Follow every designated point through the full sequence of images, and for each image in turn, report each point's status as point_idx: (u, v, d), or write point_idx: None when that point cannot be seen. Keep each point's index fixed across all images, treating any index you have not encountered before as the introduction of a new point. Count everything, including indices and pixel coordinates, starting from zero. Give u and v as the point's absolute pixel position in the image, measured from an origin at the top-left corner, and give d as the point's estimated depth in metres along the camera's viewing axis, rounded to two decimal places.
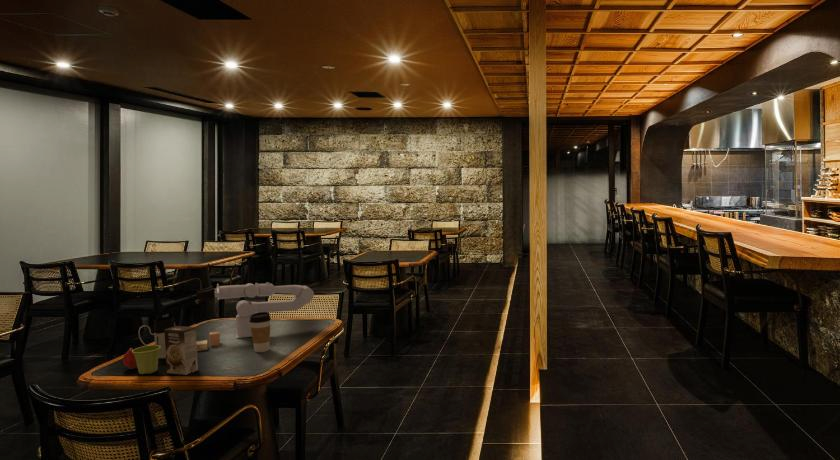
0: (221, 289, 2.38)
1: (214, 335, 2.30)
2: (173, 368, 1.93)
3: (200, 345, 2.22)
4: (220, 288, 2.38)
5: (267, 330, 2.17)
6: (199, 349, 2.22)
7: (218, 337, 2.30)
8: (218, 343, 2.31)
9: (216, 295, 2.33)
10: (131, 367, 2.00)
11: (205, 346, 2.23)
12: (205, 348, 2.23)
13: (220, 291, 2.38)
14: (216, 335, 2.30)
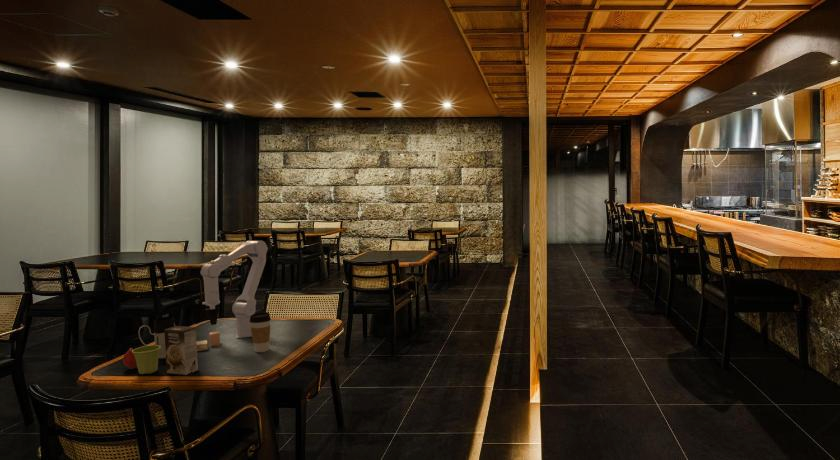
0: (208, 300, 2.28)
1: (214, 335, 2.30)
2: (173, 368, 1.93)
3: (200, 345, 2.22)
4: (207, 301, 2.28)
5: (267, 330, 2.17)
6: (199, 349, 2.22)
7: (218, 337, 2.30)
8: (218, 343, 2.31)
9: (212, 307, 2.24)
10: (131, 367, 2.00)
11: (205, 346, 2.23)
12: (205, 348, 2.23)
13: (210, 301, 2.28)
14: (216, 335, 2.30)
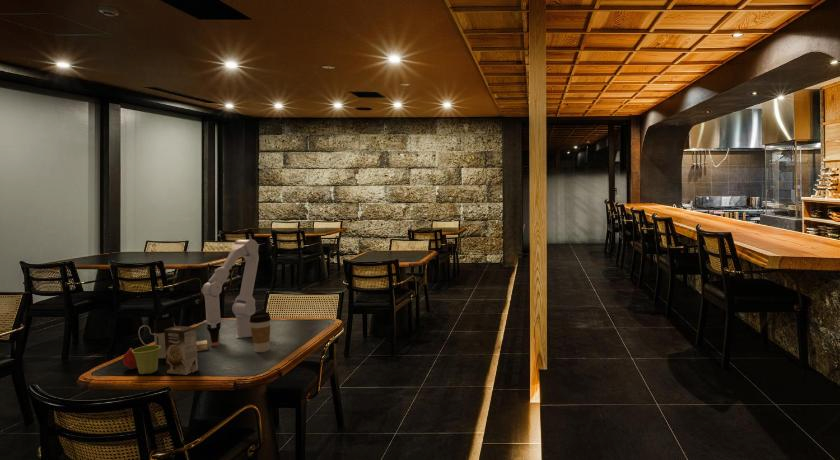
0: (209, 319, 2.29)
1: None
2: (173, 368, 1.93)
3: (200, 345, 2.22)
4: (208, 320, 2.29)
5: (267, 330, 2.17)
6: (200, 349, 2.22)
7: (218, 337, 2.30)
8: (218, 343, 2.31)
9: (214, 326, 2.25)
10: (131, 367, 2.00)
11: (205, 346, 2.23)
12: (205, 348, 2.23)
13: (211, 320, 2.28)
14: None
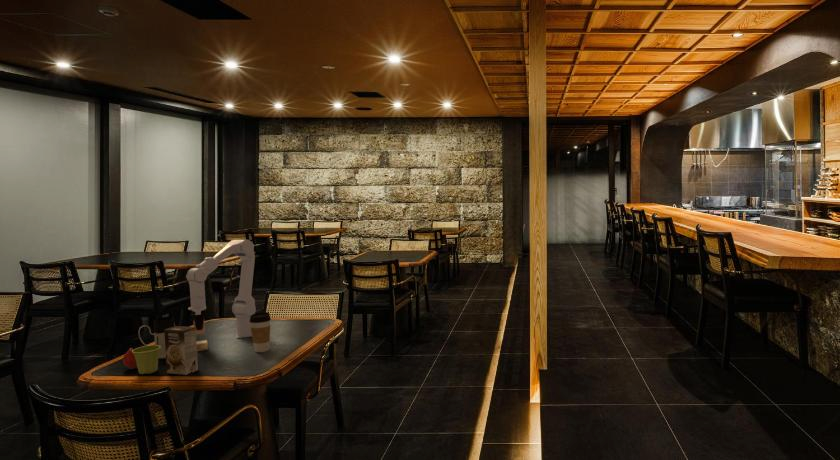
0: (193, 305, 2.22)
1: None
2: (173, 368, 1.93)
3: (201, 345, 2.22)
4: (192, 306, 2.22)
5: (267, 330, 2.17)
6: (200, 349, 2.22)
7: (203, 325, 2.24)
8: (203, 331, 2.24)
9: (198, 313, 2.18)
10: (131, 367, 2.00)
11: (206, 346, 2.23)
12: (206, 348, 2.23)
13: (196, 307, 2.22)
14: None
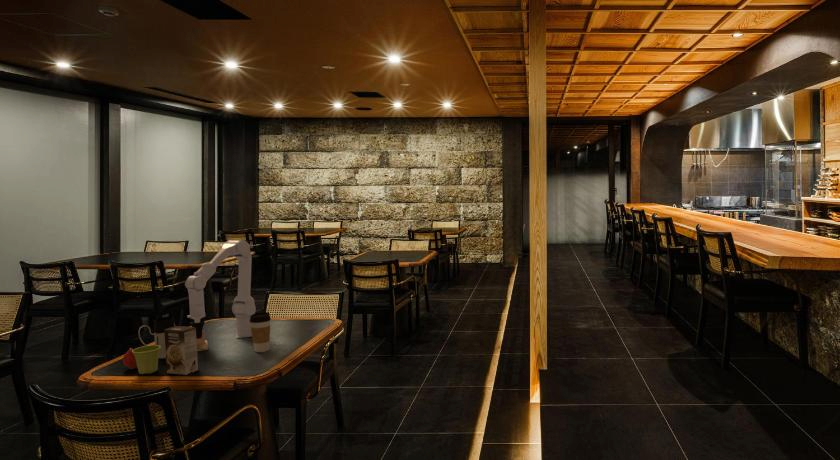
0: (192, 313, 2.21)
1: None
2: (173, 368, 1.93)
3: (201, 345, 2.23)
4: (191, 314, 2.22)
5: (267, 330, 2.17)
6: (200, 349, 2.22)
7: (203, 335, 2.24)
8: (203, 341, 2.24)
9: (197, 321, 2.18)
10: (131, 367, 2.00)
11: (206, 346, 2.23)
12: (206, 348, 2.23)
13: (195, 314, 2.21)
14: None
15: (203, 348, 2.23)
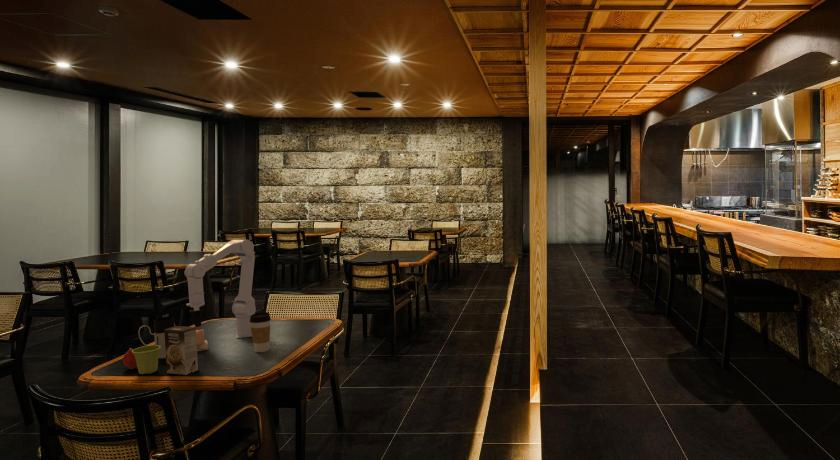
0: (192, 301, 2.21)
1: (198, 333, 2.23)
2: (173, 368, 1.93)
3: (201, 345, 2.22)
4: (191, 302, 2.21)
5: (267, 330, 2.17)
6: (200, 349, 2.22)
7: (202, 335, 2.23)
8: (202, 341, 2.24)
9: (196, 308, 2.17)
10: (131, 367, 2.00)
11: (206, 346, 2.23)
12: (206, 348, 2.23)
13: (194, 302, 2.21)
14: (200, 333, 2.23)
15: (203, 348, 2.23)
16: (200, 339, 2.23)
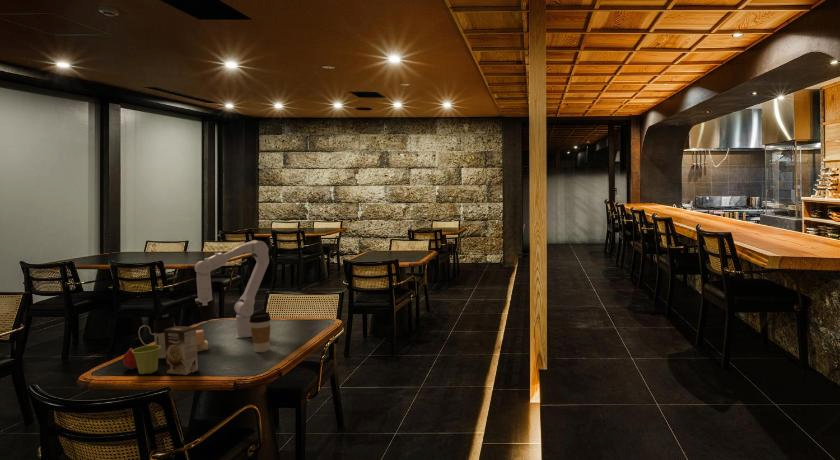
0: (200, 297, 2.32)
1: (198, 333, 2.23)
2: (173, 368, 1.93)
3: (201, 345, 2.23)
4: (199, 298, 2.32)
5: (267, 330, 2.17)
6: (200, 349, 2.22)
7: (202, 335, 2.23)
8: (202, 342, 2.24)
9: (205, 303, 2.28)
10: (131, 367, 2.00)
11: (206, 346, 2.23)
12: (206, 348, 2.23)
13: (202, 298, 2.31)
14: (200, 333, 2.23)
15: (203, 348, 2.23)
16: (200, 339, 2.23)
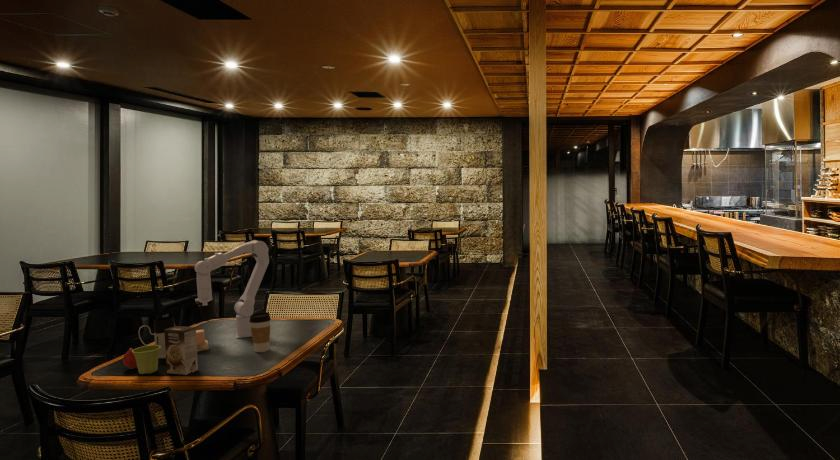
0: (200, 297, 2.32)
1: (198, 333, 2.23)
2: (173, 368, 1.93)
3: (201, 345, 2.22)
4: (199, 298, 2.32)
5: (267, 330, 2.17)
6: (201, 349, 2.22)
7: (202, 335, 2.23)
8: (202, 342, 2.23)
9: (205, 303, 2.28)
10: (131, 367, 2.00)
11: (206, 346, 2.23)
12: (206, 348, 2.23)
13: (202, 298, 2.31)
14: (200, 333, 2.23)
15: (204, 348, 2.23)
16: (200, 339, 2.23)
